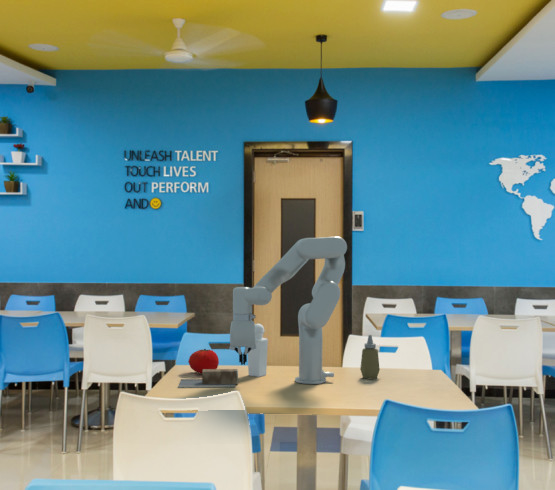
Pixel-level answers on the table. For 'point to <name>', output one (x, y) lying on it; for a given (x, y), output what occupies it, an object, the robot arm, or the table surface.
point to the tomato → (203, 360)
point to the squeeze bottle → (370, 360)
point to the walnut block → (220, 376)
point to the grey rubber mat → (200, 384)
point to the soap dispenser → (258, 354)
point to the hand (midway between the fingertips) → (243, 364)
